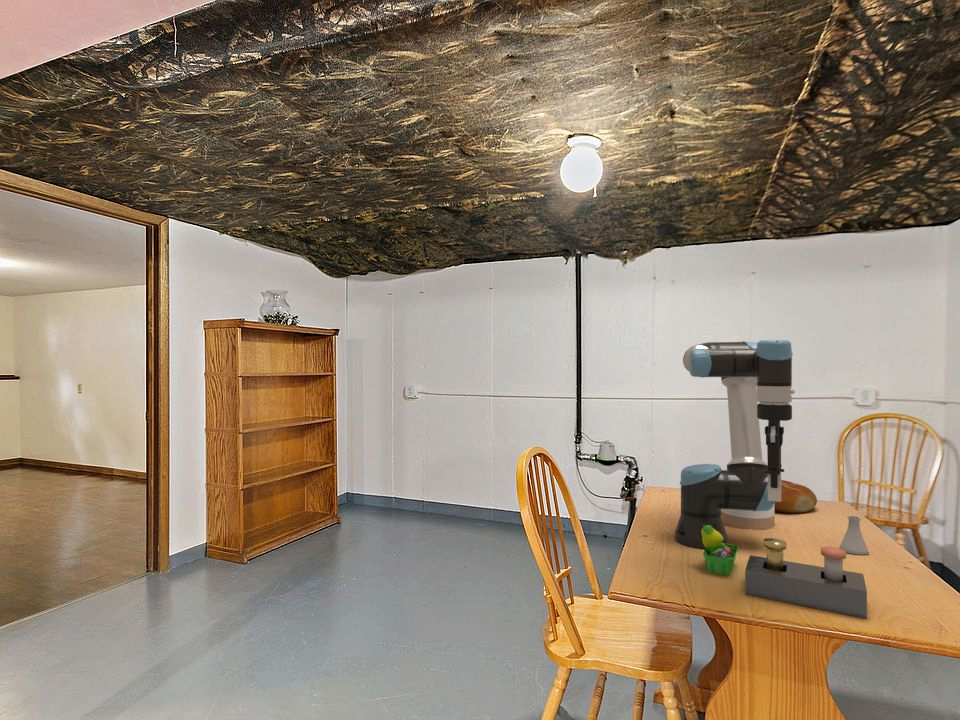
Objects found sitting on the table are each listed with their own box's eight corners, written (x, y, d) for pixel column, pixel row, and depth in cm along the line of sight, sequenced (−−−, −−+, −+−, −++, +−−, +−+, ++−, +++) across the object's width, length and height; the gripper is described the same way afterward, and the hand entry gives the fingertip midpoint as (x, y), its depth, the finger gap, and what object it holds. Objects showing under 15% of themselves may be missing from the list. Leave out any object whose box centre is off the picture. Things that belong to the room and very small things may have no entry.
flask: (874, 556, 156) (874, 521, 156) (846, 554, 157) (845, 520, 157) (862, 547, 163) (861, 514, 163) (835, 546, 164) (834, 513, 164)
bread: (815, 520, 190) (815, 491, 190) (741, 510, 203) (741, 483, 203) (817, 504, 209) (817, 478, 209) (749, 496, 222) (749, 472, 222)
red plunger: (820, 584, 126) (820, 551, 126) (820, 577, 131) (820, 545, 131) (846, 589, 124) (846, 555, 124) (845, 581, 128) (845, 548, 128)
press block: (745, 594, 132) (745, 569, 132) (750, 578, 141) (750, 555, 141) (866, 618, 120) (866, 591, 119) (863, 599, 129) (863, 573, 129)
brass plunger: (762, 574, 133) (762, 542, 133) (764, 567, 137) (764, 536, 137) (786, 578, 130) (786, 546, 130) (787, 571, 134) (787, 540, 134)
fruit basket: (733, 578, 141) (733, 535, 141) (697, 571, 146) (697, 529, 146) (739, 564, 151) (739, 523, 151) (705, 558, 156) (704, 518, 156)
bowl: (776, 519, 191) (776, 495, 191) (772, 533, 177) (772, 507, 176) (723, 512, 200) (723, 489, 200) (715, 525, 186) (715, 500, 186)
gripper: (790, 406, 125) (791, 509, 125) (793, 401, 137) (793, 495, 138) (754, 405, 129) (754, 504, 129) (759, 400, 141) (760, 491, 142)
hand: (774, 499), depth 133 cm, fingers closed
